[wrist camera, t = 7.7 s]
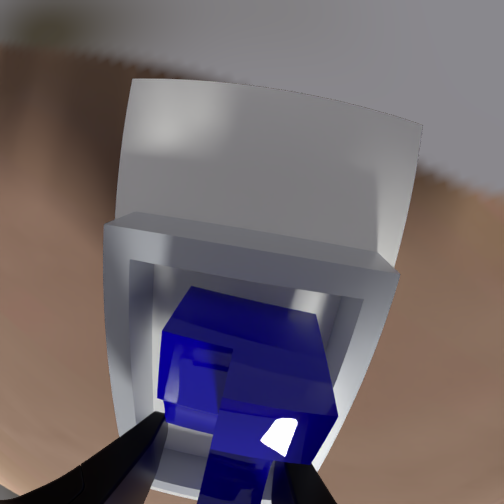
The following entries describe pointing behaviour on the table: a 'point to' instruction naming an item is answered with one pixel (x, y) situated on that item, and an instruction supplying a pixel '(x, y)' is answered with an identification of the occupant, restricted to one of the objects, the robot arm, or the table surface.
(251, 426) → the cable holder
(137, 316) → the desk organizer
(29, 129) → the table surface
